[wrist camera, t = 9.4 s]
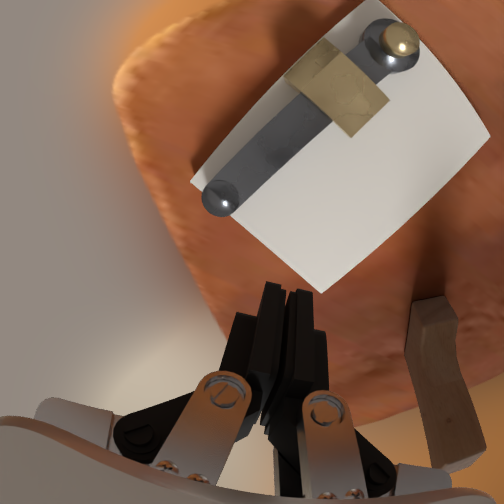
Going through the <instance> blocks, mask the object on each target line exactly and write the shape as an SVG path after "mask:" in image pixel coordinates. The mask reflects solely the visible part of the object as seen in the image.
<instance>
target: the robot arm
mask: <svg viewBox="0 0 504 504" xmlns="http://www.w3.org/2000/svg"><path fill="white" fill-rule="evenodd" d="M285 299H286V290H284V289H281V285H280V284H276V283H272V282H267V281H266V284H265V288H264V291H263V295H262V299H261V303H260V306H259V310H258V314H257V317H256V316H252V315H248V314H244V313H239V312H236V315H235V319H234V322H233V325H232V329H231V332H230V335H229V338H228V342H227V345H226V348H225V352H224V355H223V358H222V362H221V365H220V368H219V371H216V372H212V373H209V374H208V375H206V376H204V378H203V379H202V380H201V381H200V382H199V384H198V386H197V388H196V390H195V391H193V392H191V393H188V394H186V395H183V396H180V397H177V398H175V399H172V400H169V401H166V402H164V403H161V404H158V405H155V406H152V407H149V408H146V409H143V410H140V411H137V412H134V413H130V414H128V415H126V416H120V415H115V414H113V412H112V411H108V410H103V409H98V408H94V407H90V406H86V405H82V404H78V403H75V402H71V401H67V400H64V399H60V398H54V397H51V398H48V399H45V400H44V401H42V402H41V403H40V405H39V406H38V408H37V411H36V413H35V416H34V419H32V418H27V417H21V416H2V417H0V504H496V502H495V500H494V499H493V498H492V497H491V496H490V495H489V494H487V493H485V492H483V491H480V490H477V489H473V488H462V487H461V488H460V487H459V488H452V481H451V477H450V475H449V474H448V473H447V472H446V471H445V470H442V469H436V468H428V467H421V466H414V465H407V464H402V463H399V464H398V465H394V464H393V463H392V462H391V461H390V460H389V459H388V458H387V457H386V456H384V455H383V454H382V453H381V452H380V451H379V450H378V449H376V448H375V447H374V446H373V445H372V444H371V443H370V442H368V440H367V439H365V438H364V437H363V436H362V435H361V434H360V433H359V432H358V431H357V430H356V429H355V428H354V426H353V421H352V417H351V413H350V409H349V407H348V404H347V403H346V401H345V400H344V399H343V398H342V397H341V396H339V395H338V394H336V393H334V392H331V391H329V376H328V356H327V340H326V333H325V331H320V330H315V329H314V317H313V293H312V292H310V291H306V290H302V289H297V290H296V292H292V291H290V293H289V296H288V299H287V302H286V305H285ZM261 411H262V413H261ZM260 413H261V419H260V425H262V426H265V431H264V434H266V435H268V440H269V441H270V442H271V443H272V445H273V446H274V449H273V458H274V459H273V460H274V485H275V496H271V495H264V494H256V493H250V492H244V491H238V490H233V489H228V488H223V487H219V486H216V484H217V481H218V479H219V477H220V474H221V472H222V470H223V468H224V466H225V463H226V461H227V459H228V456H229V454H230V452H231V449H232V447H233V444H234V443H235V442H237V441H239V440H241V439H242V438H244V437H246V436H248V434H249V432H250V431H251V428H252V426H253V424H256V422H257V420H258V418H259V416H260Z"/></svg>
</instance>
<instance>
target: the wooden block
mask: <svg viewBox="0 0 504 504" xmlns="http://www.w3.org/2000/svg"><path fill="white" fill-rule="evenodd" d="M457 327H458V317H457V315H456V314H455V312H454V310H453V308H452V307H451V305H450V303H449V302H448V300H447V299H446V297H445V296H439V297H434V298H429V299H424V300H419V301H414V302H413V303H412V307H411V315H410V322H409V329H408V336H407V342H406V348H405V354H404V356H405V359H406V362H407V366H408V369H409V372H410V376H411V379H412V383H413V386H414V390H415V394H416V397H417V401H418V405H419V409H420V413H421V417H422V421H423V426H424V430H425V435H426V439H427V444H428V449H429V454H430V459H431V466H432V468H436V469H442V470H445V471H446V472H447V473H448V474H450V473H453V472H456V471H459V470H462V469H464V468H467V467H469V466H471V465H472V464H473V463H474V462H475V461H476V460H477V459H478V458H479V457H480V456H481V455H482V454H483V452H484V451H486V443H485V440H484V436H483V433H482V430H481V426H480V423H479V420H478V417H477V414H476V412H475V409H474V406H473V403H472V400H471V397H470V395H469V392H468V390H467V387H466V384H465V382H464V379H463V377H462V375H461V372H460V368H459V364H458V361H457V357H456V343H455V339H456V333H457Z"/></svg>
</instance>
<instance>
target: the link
mask: <svg viewBox="0 0 504 504" xmlns="http://www.w3.org/2000/svg"><path fill="white" fill-rule="evenodd" d="M395 22H398V21H396V20H393V19H388V18H382V19H377V20H375V21H373V22H371V23H370V24H369V25H368V26H367V27H366V29H365V30H364V31H363V32H362V33H361V35H360V38H359V44H358V45H357V46H356V47H355V48H353V49H352V50H351V51H349V52H348V53H347V54H346V55H345V56H347V57H348V58H349V59H350V60H351V61H352V62H353V63H354V64H355V65H356V66H357V67H358V68H359V69H361V70H362V71H363V72H364V73H365V74H366V75H367V76H368V77H369V78H370V79H371V80H372V81H373V82H374V83H375V84H378V83H379V82H380V81H381V80H382V79H384V78H385V77H386V76H387V75H388V74H397V73H400V72H403V71H407V70H409V69H411V68H412V67H414V66H415V65H416V63H417V62H418V59H419V56H420V48H418V50H417V51H416V52H415V53H412V54H410V55H408V56H405V57H403V58H393V57H391V56H389V55H387V54H386V53H385V52H384V51H383V50H382V48H381V47H380V44H379V35H380V33H381V32H382V31H383V30H385V29H386V28H387V27H388V26H389V25H391V24H392V23H395ZM332 122H333V121H332V120H331V119H330V118H329V117H328V116H327V115H325V114H324V113H323V112H322V111H321V110H320V109H319V108H318V107H317V106H316V105H315V104H314V103H312V102H311V101H310V100H309V99H308V98H307V97H306V96H305V95H303V94H302V93H300V94H299V95H297V96H296V97H295V98H294V99H293V100H292V101H291V102H290V103H289V104H288V105H286V106H285V107H284V108H283V109H282V110H281V111H280V112H279V113H278V114H277V115H276V116H275V117H274V118H272V119H271V120H270V121H269V122H268V123H267V124H266V125H265V126H264V127H263V128H262V129H261V130H260V131H259V132H258V133H257V134H256V135H255V136H254V137H253V138H252V139H251V140H250V141H249V142H248V143H247V144H246V145H245V146H244V147H243V148H242V149H241V150H240V151H239V152H238V153H237V154H236V155H235V156H234V157H233V158H232V159H231V160H230V161H229V162H228V163H227V164H226V165H225V166H224V167H223V168H222V169H221V170H220V171H219V172H218V173H217V174H216V175H215V176H214V178H213V179H212V180H211V181H210V182H209V183H208V184H207V185H206V186H205V188H204V189H203V192H202V203H203V205H204V207H205V209H206V210H207V211H208V212H209V213H211V214H212V215H215V216H218V217H225V216H229V215H231V214H232V213H234V212H235V211H236V210H237V209H238V208H239V207H240V206H241V205H242V204H243V203H244V202H245V201H246V200H247V199H248V198H249V197H250V196H251V195H253V194H254V193H255V192H256V191H257V190H258V189H259V188H260V187H261V186H262V185H263V184H264V183H265V182H266V181H267V180H269V179H270V178H271V177H272V176H273V175H274V174H275V173H276V172H277V171H278V170H279V169H280V168H281V167H283V166H284V165H285V164H286V163H287V162H288V161H289V160H290V159H291V158H292V157H293V156H295V155H296V154H297V153H298V152H299V151H300V150H301V149H302V148H303V147H305V146H306V145H307V144H308V143H309V142H310V141H311V140H312V139H313V138H315V137H316V136H317V135H318V134H319V133H320V132H321V131H323V130H324V129H325V128H326V127H327V126H328V125H329V124H330V123H332Z"/></svg>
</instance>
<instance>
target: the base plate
mask: <svg viewBox="0 0 504 504" xmlns="http://www.w3.org/2000/svg"><path fill="white" fill-rule="evenodd" d="M382 18H388V19H393V20H396V21H398V22H402V21H401V20H400V19H399V18H398V17H397V16H396V15H395V14H393V13H392V12H391V11H390V10H389V9H388V8H387V7H386V6H385V5H383V4H382V3H381V2H380V1H379V0H365V1H364V2H363V3H361V4H360V5H359V6H358V7H357V8H355V9H354V10H353V11H352V12H350V13H349V14H348V15H347V16H346V17H345V18H343V19H342V20H341V21H340V22H339V23H338V24H336V25H335V26H334V27H333V28H332V29H331V30H330V31H328V32H327V33H326V34H325V35H324V36H323V37H324V38H326V39H327V40H328V41H329V42H330V43H332V44H333V45H334V46H335V47H336V48H337V49H339V50H340V51H341V52H342V53H343V54H344V55H346V54H347V53H348V52H349V51H351V50H352V49H353V48H355V47H356V46H357V45H358V44H359V38H360V35H361V33H362V32H363V31H364V30H365V29H366V27H367V26H368V25H369V24H370V23H371V22H373V21H375V20H377V19H382ZM402 23H403V22H402ZM323 37H322V38H323ZM322 38H321V39H322ZM321 39H320V40H321ZM320 40H319V41H320ZM419 40H420V39H419ZM319 41H317V42H316V43H315V44H314V45H313V46H312V47H314V46H315V45H316V44H317V43H318V42H319ZM312 47H311V48H312ZM311 48H310V49H311ZM419 48H420V56H419V59H418V62H417V63H416V65H415V66H414V67H412V68H411V69H409V70H407V71H403V72H400V73H397V74H388V75H387V76H386V77H385V78H384V79H382V80H381V81H380V82H379V83H378V84H376V85H377V86H378V88H379V89H380V90H381V91H382V92H383V93H384V94H385V95H386V96H387V97H388V98H389V99H390V101H389V102H388V103H387V104H386V105H385V106H384V107H383V108H382V109H381V110H380V111H379V112H378V113H377V114H376V115H375V116H373V117H372V118H371V119H370V120H369V121H368V122H367V123H366V124H365V125H364V126H363V127H362V128H361V129H360V130H359V131H358V132H357V133H356V134H355V135H354V136H353V137H352V138H350V137H348V136H347V135H346V134H345V133H344V132H343V131H342V130H341V129H340V128H339V127H338V126H337V125H336V124H335V123H334V122H332V123H330V124H329V125H328V126H327V127H326V128H325V129H324V130H323V131H321V132H320V133H319V134H318V135H317V136H316V137H315V138H313V139H312V140H311V141H310V142H309V143H308V144H307V145H306V146H305V147H303V148H302V149H301V150H300V151H299V152H298V153H297V154H296V155H295V156H293V157H292V158H291V159H290V160H289V161H288V162H287V163H286V164H285V165H284V166H283V167H281V168H280V169H279V170H278V171H277V172H276V173H275V174H274V175H273V176H272V177H271V178H270V179H269V180H267V181H266V182H265V183H264V184H263V185H262V186H261V187H260V188H259V189H258V190H257V191H256V192H255V193H254V194H253V195H251V196H250V197H249V198H248V199H247V200H246V201H245V202H244V203H243V204H242V205H241V206H240V207H239V208H238V209H237V210H236V211H235V212H234V213H232V214H231V215H230V216H231V217H233V218H234V219H235V220H236V221H237V222H238V223H240V224H241V225H242V226H243V227H244V228H246V229H247V230H248V231H249V232H250V233H251V234H253V235H254V236H255V237H256V238H257V239H258V240H260V241H261V242H262V243H263V244H264V245H265V246H267V247H268V248H269V249H270V250H271V251H272V252H274V253H275V254H276V255H277V256H278V257H279V258H281V259H282V260H283V261H284V262H285V263H286V264H288V265H289V266H290V267H291V268H292V269H293V270H294V271H296V272H297V273H298V274H299V275H300V276H301V277H303V278H304V279H305V280H306V281H307V282H308V283H310V284H311V285H312V286H313V287H314V288H315V289H316V290H318V291H319V292H320V293H323V292H324V291H325V290H327V289H328V288H329V287H330V286H332V285H333V284H334V283H335V282H337V281H338V280H339V279H340V278H341V277H343V276H344V275H345V274H346V273H348V272H349V271H350V270H351V269H352V268H354V267H355V266H356V265H357V264H358V263H360V262H361V261H362V260H363V259H364V258H366V257H367V256H368V255H369V254H370V253H371V252H373V251H374V250H375V249H376V248H377V247H378V246H380V245H381V244H382V243H383V242H384V241H385V240H386V239H387V238H389V237H390V236H391V235H392V234H393V233H394V232H395V231H396V230H398V229H399V228H400V227H401V226H402V225H403V224H404V223H405V222H406V221H407V220H409V219H410V218H411V217H412V216H413V215H414V214H415V213H416V212H417V211H418V210H419V209H420V208H421V207H422V206H423V205H425V204H426V203H427V202H428V201H429V200H430V199H431V198H432V197H433V196H434V195H435V194H436V193H437V192H438V191H439V190H440V189H441V188H442V187H443V186H444V185H445V184H446V183H447V182H448V181H449V180H450V179H451V178H452V177H453V176H454V175H455V174H456V173H457V172H458V171H459V170H460V169H461V168H462V167H463V166H464V165H465V164H466V163H467V161H468V160H469V159H470V158H471V157H472V156H473V155H474V154H475V153H476V152H477V151H478V150H479V149H480V148H481V146H482V145H483V144H484V143H485V142H486V141H487V140H488V139H489V138H490V134H489V133H488V131H487V129H486V128H485V126H484V124H483V123H482V121H481V119H480V118H479V116H478V114H477V113H476V111H475V110H474V108H473V107H472V105H471V104H470V102H469V101H468V99H467V98H466V96H465V95H464V93H463V92H462V91H461V89H460V88H459V86H458V85H457V84H456V82H455V81H454V80H453V78H452V77H451V76H450V75H449V73H448V72H447V71H446V69H445V68H444V67H443V66H442V64H441V63H440V62H439V61H438V60H437V58H436V57H435V56H434V55H433V54H432V53H431V51H430V50H429V49H428V48H427V47H426V46H425V45H424V44H423V43H422V41H421V40H420V46H419ZM310 49H309V50H310ZM309 50H308V51H309ZM308 51H307V52H308ZM307 52H306V53H307ZM306 53H305V54H306ZM305 54H304V55H305ZM304 55H303V56H304ZM303 56H302V57H303ZM302 57H301V58H302ZM301 58H300V59H301ZM300 59H298V60H297V61H296V62H295V63H294V64H293V65H292V66H291V67H290V68H289V69H288V70H287V71H286V72H285V73H284V74H283V75H282V76H281V77H280V78H279V79H278V80H277V82H276V83H275V84H274V85H273V86H272V87H271V88H270V89H269V90H268V91H267V92H266V93H265V94H264V95H263V96H262V97H261V98H260V99H259V101H258V102H257V103H256V104H255V105H254V106H253V107H252V108H251V109H250V110H249V111H248V113H247V114H246V115H245V116H244V117H243V118H242V119H241V120H240V122H239V123H238V124H237V125H236V126H235V127H234V128H233V130H232V131H231V132H230V133H229V134H228V135H227V137H226V138H225V139H224V140H223V141H222V142H221V144H220V145H219V146H218V147H217V148H216V150H215V151H214V152H213V153H212V155H211V156H210V157H209V158H208V159H207V161H206V162H205V163H204V164H203V166H202V167H201V168H200V169H199V171H198V172H197V173H196V174H195V176H194V177H193V178H192V180H191V181H190V182H191V183H192V184H193V185H195V186H196V187H197V188H198V189H199V190H201V191H202V192H203V189H204V188H205V186H206V185H207V184H208V183H209V182H210V181H211V180H212V179H213V178H214V176H215V175H216V174H217V173H218V172H219V171H220V170H221V169H222V168H223V167H224V166H225V165H226V164H227V163H228V162H229V161H230V160H231V159H232V158H233V157H234V156H235V155H236V154H237V153H238V152H239V151H240V150H241V149H242V148H243V147H244V146H245V145H246V144H247V143H248V142H249V141H250V140H251V139H252V138H253V137H254V136H255V135H256V134H257V133H258V132H259V131H260V130H261V129H262V128H263V127H264V126H265V125H266V124H267V123H268V122H269V121H270V120H271V119H272V118H274V117H275V116H276V115H277V114H278V113H279V112H280V111H281V110H282V109H283V108H284V107H285V106H286V105H288V104H289V103H290V102H291V101H292V100H293V99H294V98H295V97H296V96H297V95H299V93H298V92H296V91H295V90H294V89H293V88H292V87H290V86H289V85H288V84H287V83H286V82H285V80H284V77H283V76H284V75H285V74H286V73H287V72H288V71H289V70H290V69H291V68H292V67H293V66H294V65H295V64H296V63H297V62H298V61H299V60H300Z"/></svg>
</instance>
